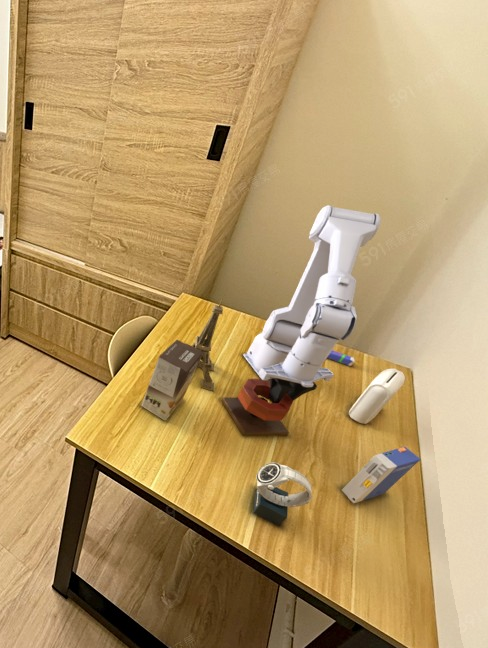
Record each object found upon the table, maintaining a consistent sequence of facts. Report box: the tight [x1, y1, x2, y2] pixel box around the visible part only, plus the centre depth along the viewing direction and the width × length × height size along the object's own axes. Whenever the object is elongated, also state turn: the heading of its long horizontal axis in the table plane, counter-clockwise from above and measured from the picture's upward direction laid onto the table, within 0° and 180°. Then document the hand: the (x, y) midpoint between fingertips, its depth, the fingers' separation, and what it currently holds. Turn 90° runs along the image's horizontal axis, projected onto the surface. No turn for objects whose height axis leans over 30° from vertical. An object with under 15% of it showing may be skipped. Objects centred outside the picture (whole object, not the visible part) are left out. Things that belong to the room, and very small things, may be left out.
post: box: [221, 396, 290, 437], centre depth 92 cm, size 10×10×6 cm
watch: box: [252, 461, 313, 527], centre depth 73 cm, size 6×8×11 cm
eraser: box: [326, 349, 356, 367], centre depth 110 cm, size 2×6×2 cm, turn 54°
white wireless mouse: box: [347, 367, 406, 425], centre depth 93 cm, size 10×4×12 cm, turn 123°
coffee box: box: [140, 339, 203, 421], centre depth 92 cm, size 9×6×16 cm
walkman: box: [341, 446, 421, 504], centre depth 76 cm, size 8×3×12 cm, turn 105°
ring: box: [237, 378, 294, 422], centre depth 90 cm, size 9×9×3 cm
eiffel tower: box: [190, 293, 226, 392], centre depth 99 cm, size 11×11×25 cm
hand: (278, 400), depth 91 cm, fingers closed on ring, 2 cm apart
